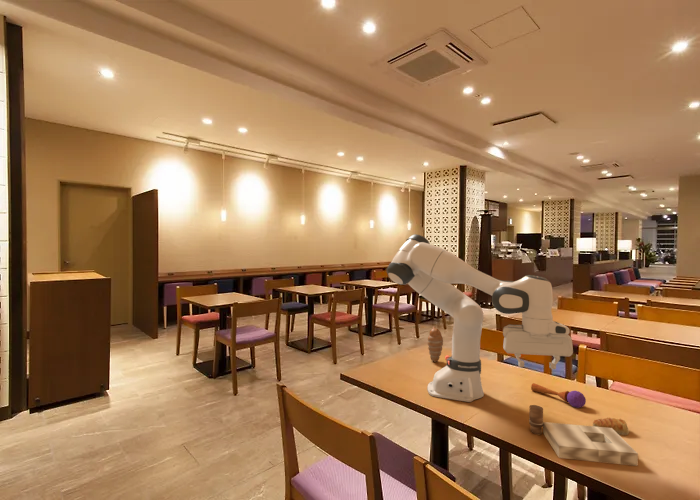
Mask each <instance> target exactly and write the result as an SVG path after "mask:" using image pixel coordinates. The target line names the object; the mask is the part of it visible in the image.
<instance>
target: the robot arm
mask: <svg viewBox="0 0 700 500" xmlns="http://www.w3.org/2000/svg"><path fill="white" fill-rule="evenodd" d="M386 274H387V277H388V278H389V279H390V280H391V281H392V282H393V283H395V284H396V285H397V284H398V285H400V286H402V285H404V286H406V285H408V286H409V287H410V288H412V289H413V290H414V291H415V292H416V293H418V294H419V295H420V296H422V298H424V299H425V300H426V301H428V302H430V303H431V304H432V305H434V306H435V307H437V308H438V309H440V310H441V311H443V312H445V313H446V314H447V315H449V316H450V317H452V318H453V328H452V337H451V356H450V355H448V354H447V355H445V357H444V358H445V361H446V365H445V366H444V367H442V368H440V369H439V370H437V371H435V373H434V376H433V379H432V381H430V382H429V383H428V384H427V388H426V389H427V392H428V394H429V395H430V396H432V397H433V398H434V397H435V398H441V399H442V398H443V399H446V400H447V399H448V400H454V401H460V402H461V401H462V402H465V403H466V402H467V403H472V402H474V400H478V399H481V398H482V397H484V395H485V394H484V393H485V392H484V390H483V386H482V385H483V384H482V377H481V374H482V360H481V336H482V331H483V330H482V329H483V322H484V318H485V317H484V311H483V308H482V307H481V306H480V304H478V303H477V302H476V301H475V300H474V299H473V298H471V297H469V296H468V295H467V294H465V293H464V292H462V291H461V290H460V289H459V288H457V287H455V286H454V285H452V284H456V285H457V284H459V285H460V284H463V285H467V286H471V287H474V288H475V289H477V290H480V291H482V292H483V293H485V294H488V295H490V296H491V303H492V306H493V308H494V309H495V310H496V311H498V312H499V313H501V314H504V315H510V314H521V315H522V316H521V318H522V319H521V324H508V325H506V326H504V327H503V329H502V335H503V337H504V338H503V345H502V347H503V350H504V351H505V352H506V354H514V356H515V358H516V359H517V363H518V364H517V366H518V367H519V368H525V361H524V360H521V356H522V355H532V356H533V355H535V356H549V357H550V356H552V358H553V360H552V361H551V362H548V363H549V369H550V370H557V364H559V362H560V360H561V357H571V356H572V355H573V353H574V349H573V348H574V347H573V340H572V339H573V338H572V337H571V336H570V330H571V329H570V328H569V327H568V326H567V325H565V324H564V323H563V324H562V323H561V322H558V321H554V316H553V312H552V309H553V304H554V297H553V296H554V294H553V286H552V283H551V282H550V280H549V279H547V278H546V277H543V276H539V275H533V274H527V275H525V276H523V277H522V278H520V279H518V280H515V281H513V280H501V279H498V278H496V277H493V276H491V275H489V274H487V273H485V272H484V271H483V272H482V271H480V269H476V268H475V267H473V266H471V265H470V264H468V262H465V261H464V260H463V259H462V258H459V257H458V256H457V255H455V254H454V253H452V252H451V251H449V250H446V249H444V248H443V247H440V246H436V245H434V244H431V243H430V241H429V240H428V239H427V238H426V237H425V236H423V235H421V234H412V235H410V236H409V237H408V238H406V240H405V242H404V243H403V244H401V246H400V247H399V249H398V250H397V251H396V253H395V254H394V256H393V258H392V260H391V262H390V263H389V264H388V266H387V268H386Z"/></svg>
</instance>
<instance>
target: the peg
mask: <svg viewBox="0 0 700 500" xmlns="http://www.w3.org/2000/svg"><path fill="white" fill-rule="evenodd" d="M528 409H529V419H528V421H529V422H528V423H529V425H530V432H531V433H532V434H534V435H538V436H539V435H542V434H543V422H544V407H542V406H540V405H536V404H531V405H529V408H528Z"/></svg>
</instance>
